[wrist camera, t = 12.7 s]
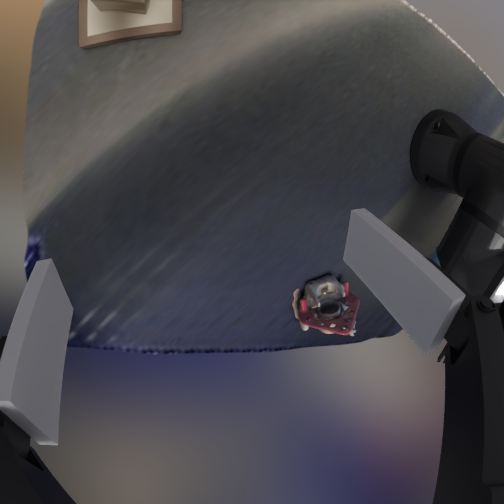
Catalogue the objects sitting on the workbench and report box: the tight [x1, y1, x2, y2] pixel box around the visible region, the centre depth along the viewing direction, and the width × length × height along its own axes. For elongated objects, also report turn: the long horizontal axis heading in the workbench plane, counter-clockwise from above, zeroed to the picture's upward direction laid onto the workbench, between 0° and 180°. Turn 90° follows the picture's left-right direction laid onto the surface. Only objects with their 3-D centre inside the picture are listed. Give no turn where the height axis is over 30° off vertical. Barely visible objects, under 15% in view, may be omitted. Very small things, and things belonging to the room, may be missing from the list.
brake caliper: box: [292, 275, 359, 336], centre depth 53 cm, size 11×11×12 cm
